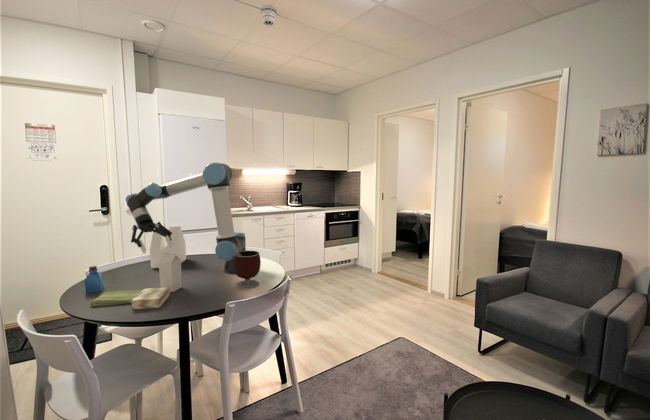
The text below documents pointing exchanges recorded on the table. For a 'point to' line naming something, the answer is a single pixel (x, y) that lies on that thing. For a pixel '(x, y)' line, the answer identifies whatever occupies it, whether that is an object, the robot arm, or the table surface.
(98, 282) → the perfume bottle
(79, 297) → the table surface
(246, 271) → the dark red goblet
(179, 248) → the white notched block
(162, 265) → the milk carton
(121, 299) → the washcloth
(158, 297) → the beige book
